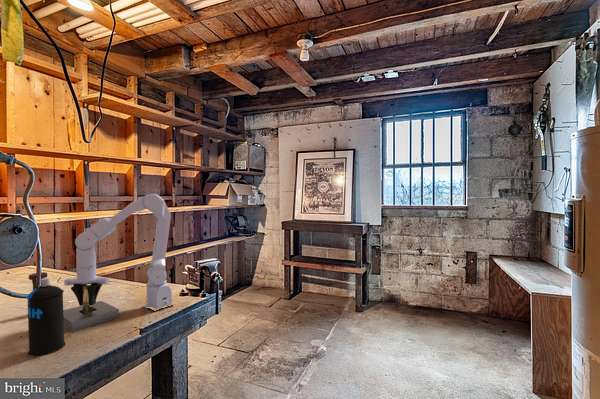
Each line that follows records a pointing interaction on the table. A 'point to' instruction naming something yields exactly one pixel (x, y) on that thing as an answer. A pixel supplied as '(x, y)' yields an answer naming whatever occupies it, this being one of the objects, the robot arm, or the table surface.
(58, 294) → the aerosol can
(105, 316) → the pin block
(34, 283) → the bolt
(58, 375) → the table surface
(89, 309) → the brass pin
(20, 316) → the table surface
